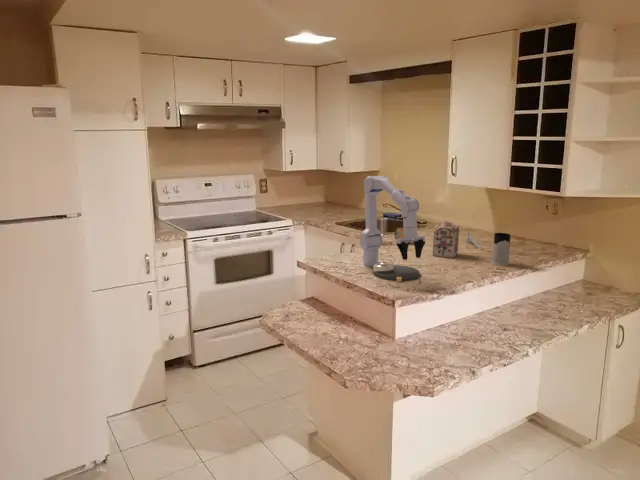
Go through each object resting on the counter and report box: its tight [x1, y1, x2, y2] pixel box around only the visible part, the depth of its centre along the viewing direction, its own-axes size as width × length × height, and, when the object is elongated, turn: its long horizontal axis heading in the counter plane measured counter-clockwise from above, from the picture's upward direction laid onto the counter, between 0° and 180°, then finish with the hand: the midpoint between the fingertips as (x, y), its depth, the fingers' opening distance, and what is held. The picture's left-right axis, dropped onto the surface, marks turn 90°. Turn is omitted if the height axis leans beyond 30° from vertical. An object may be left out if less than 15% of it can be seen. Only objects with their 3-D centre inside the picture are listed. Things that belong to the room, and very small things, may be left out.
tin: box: [394, 227, 412, 244], centre depth 295 cm, size 15×3×8 cm, turn 27°
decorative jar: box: [431, 220, 460, 259], centre depth 263 cm, size 12×12×18 cm
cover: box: [372, 261, 395, 273], centre depth 222 cm, size 9×9×4 cm
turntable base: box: [372, 271, 422, 282], centre depth 223 cm, size 22×22×1 cm
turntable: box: [373, 264, 420, 283], centre depth 221 cm, size 22×20×2 cm
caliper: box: [465, 232, 482, 249], centre depth 287 cm, size 20×1×6 cm, turn 7°
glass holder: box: [490, 232, 512, 266], centre depth 248 cm, size 9×14×15 cm, turn 179°
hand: (411, 258), depth 213 cm, fingers open, 7 cm apart
